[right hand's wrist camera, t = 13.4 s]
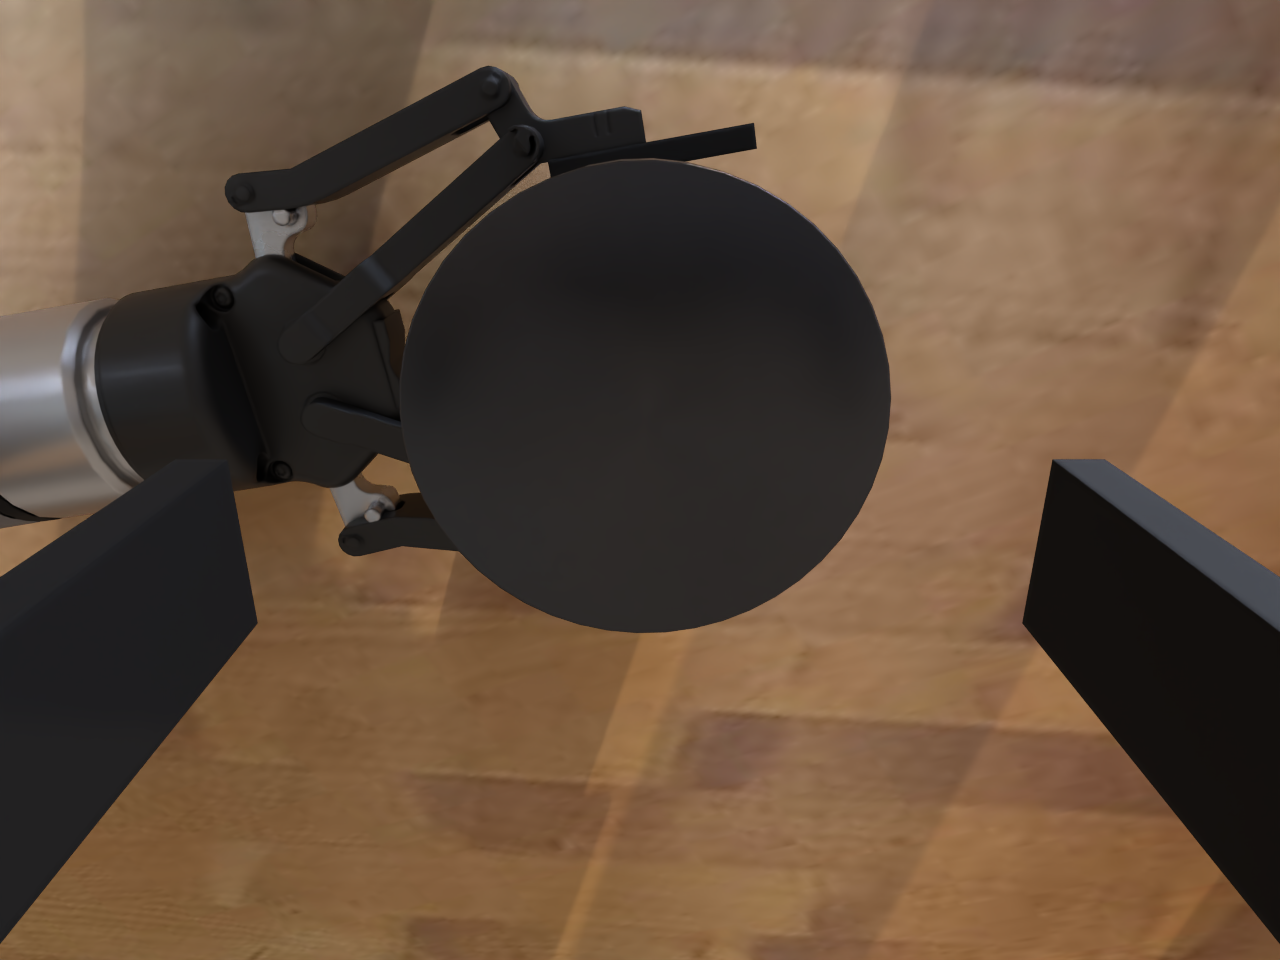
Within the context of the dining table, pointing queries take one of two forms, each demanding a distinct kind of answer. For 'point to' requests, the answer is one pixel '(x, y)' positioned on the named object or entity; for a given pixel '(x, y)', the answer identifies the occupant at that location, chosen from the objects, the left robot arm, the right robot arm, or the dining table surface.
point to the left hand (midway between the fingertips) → (768, 295)
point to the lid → (644, 396)
